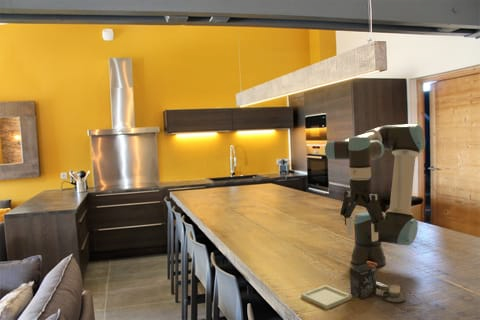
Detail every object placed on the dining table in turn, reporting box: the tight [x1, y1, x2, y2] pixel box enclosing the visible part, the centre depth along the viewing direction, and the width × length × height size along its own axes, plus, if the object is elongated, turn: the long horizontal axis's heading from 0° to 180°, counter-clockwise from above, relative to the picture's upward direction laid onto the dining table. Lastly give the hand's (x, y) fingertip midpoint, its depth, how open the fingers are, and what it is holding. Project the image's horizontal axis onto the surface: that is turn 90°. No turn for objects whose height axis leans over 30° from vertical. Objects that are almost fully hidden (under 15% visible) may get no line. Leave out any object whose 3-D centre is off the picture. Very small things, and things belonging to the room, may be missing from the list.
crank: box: [367, 261, 401, 297], centre depth 149 cm, size 13×4×10 cm, turn 36°
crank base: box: [381, 291, 407, 304], centre depth 146 cm, size 8×8×1 cm
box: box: [349, 264, 377, 300], centre depth 150 cm, size 8×6×11 cm
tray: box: [300, 284, 353, 310], centre depth 149 cm, size 13×13×1 cm
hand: (362, 237), depth 149 cm, fingers open, 11 cm apart
